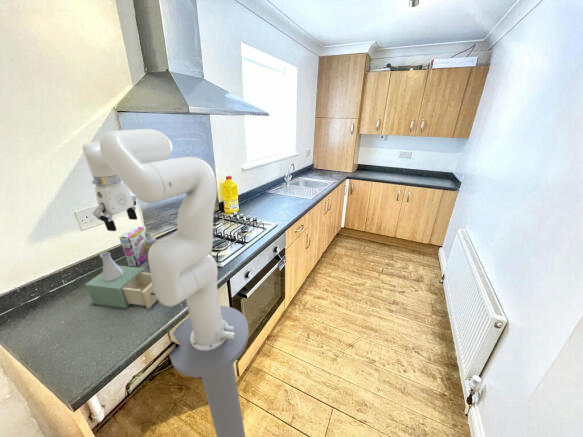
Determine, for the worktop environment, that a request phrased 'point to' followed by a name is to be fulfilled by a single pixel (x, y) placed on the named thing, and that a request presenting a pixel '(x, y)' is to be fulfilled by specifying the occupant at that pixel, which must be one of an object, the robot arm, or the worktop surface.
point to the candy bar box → (134, 246)
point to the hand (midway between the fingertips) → (123, 224)
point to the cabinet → (112, 288)
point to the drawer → (140, 291)
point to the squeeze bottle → (148, 244)
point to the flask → (110, 268)
